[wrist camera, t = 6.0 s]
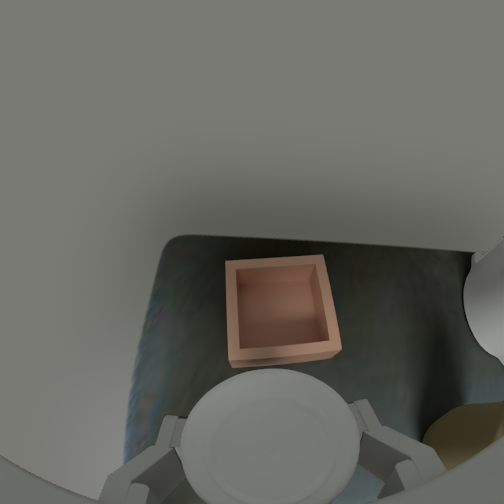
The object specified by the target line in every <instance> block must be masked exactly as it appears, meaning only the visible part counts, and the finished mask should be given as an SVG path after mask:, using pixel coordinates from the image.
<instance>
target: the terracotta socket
mask: <svg viewBox="0 0 504 504" xmlns="http://www.w3.org/2000/svg"><path fill="white" fill-rule="evenodd" d="M225 265H226V304H227V333H228V357H229V362H230V364H231V366H232V368H237V367H254V366H268V365H279V364H289V363H298V362H307V361H314V360H322V359H329V358H332V357H333V356H334V355H336V354H337V353H338V352H339V351H340V350H342V347H341V341H340V335H339V329H338V324H337V319H336V313H335V308H334V303H333V298H332V293H331V288H330V283H329V279H328V274H327V270H326V265H325V261H324V256H323V255H309V256H294V257H279V258H264V259H248V260H232V261H225Z"/></svg>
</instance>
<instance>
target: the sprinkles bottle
mask: <svg viewBox="0 0 504 504" xmlns="http://www.w3.org/2000/svg"><path fill="white" fill-rule="evenodd" d="M359 452H360V437H359V432H358V426H357V423H356V420H355V418H354V415H353V413H352V412H351V410H350V408H349V406H348V405H347V404H346V402H345V401H344V400H343V399H342V397H341V396H340V395H339V394H338V393H337V392H336V391H334V390H333V389H332V388H331V387H329V386H328V385H327V384H325V383H323V382H322V381H320V380H318V379H316V378H314V377H312V376H309V375H307V374H304V373H300V372H297V371H293V370H285V369H260V370H254V371H248V372H245V373H241V374H238V375H236V376H233V377H231V378H229V379H227V380H225V381H223V382H221V383H220V384H218V385H217V386H215V387H214V388H212V389H211V390H210V391H209V392H207V393H206V394H205V395H204V396H203V397H202V398H201V399H200V400H199V402H198V403H197V404H196V405H195V406H194V408H193V409H192V411H191V413H190V414H189V416H188V418H187V421H186V423H185V426H184V429H183V432H182V436H181V445H180V453H181V460H182V466H183V469H184V473H185V475H186V477H187V480H188V481H189V483H190V484H191V486H192V488H193V489H194V491H195V492H196V493H197V494H198V496H199V497H200V498H201V499H202V500H203V501H204V502H206V503H207V504H330V503H331V502H333V501H334V500H335V499H336V498H337V497H338V496H339V495H340V493H341V492H342V491H343V490H344V489H345V487H346V486H347V485H348V483H349V481H350V480H351V478H352V475H353V473H354V471H355V468H356V465H357V462H358V458H359Z"/></svg>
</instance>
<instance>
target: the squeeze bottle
mask: <svg viewBox="0 0 504 504" xmlns="http://www.w3.org/2000/svg"><path fill="white" fill-rule="evenodd" d="M503 435H504V401H502V402H493V403H482V404H468V405H461V406H459V407H456V408H453V409H452V410H450V411H449V412H448V413H446V414H445V415H443V416H442V417H440V418H439V419H437V420H436V421H435V422H434V423H433V424H432V425H430V427H429V428H428V430H427V431H426V433H425V434H424V437H423V441H422V443H423V444H425V445H427V446H429V447H432V448H433V449H434V450H435V452H436V454H437V455H438V457H439V458H440V460H441V462H442V463H443V465H444V467H445V468H446V470H447V471H448V470H449V469H451V468H453V467H455V466H457V465H459V464H460V463H462V462H464V461H465V460H467V459H469V458H471V457H472V456H474V455H475V454H477V453H479V452H480V451H482V450H483V449H485V448H486V447H488V446H489V445H491V444H492V443H494V442H495V441H496V440H498V439H499V438H501V437H502V436H503Z"/></svg>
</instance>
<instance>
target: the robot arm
mask: <svg viewBox="0 0 504 504" xmlns="http://www.w3.org/2000/svg"><path fill="white" fill-rule="evenodd" d="M463 297H464V308H465V313H466V317H467V320H468V323H469V326H470V328H471V331H472V333H473V335H474V337H475V338H476V340H477V341H478V343H479V344H480V345H481V346H482V348H483V349H485V350H486V351H487V352H488V353H490V354H492V355H494V356H496V357H497V358H498V359H499V360H500V361H501V363H502V364H503V365H504V237H503V238H502V239H501V240H500V241H499V242H498V243H496V244H495V245H494V246H493V247H492V248H491V249H490V250H489V251H488V252H481V251H476V252H475V253H474V254H473V255H472V260H471V270H470V272H469V274H468V276H467V278H466V281H465V285H464V296H463ZM346 404H347V405H348V406H349V408H350V410H351V412H352V413H353V415H354V418H355V420H356V423H357V426H358V432H359V437H360V452H359V458H358V462H357V463H358V464H360V465H361V466H362V467H364V468H365V469H366V470H368V471H369V472H370V473H372V474H373V475H375V476H376V477H377V478H379V479H380V480H382V481H383V482H384V483H386V484H385V485H384V487H383V489H382V490H381V492H380V493H379V495H378V500H376V501H372V502H369V503H366V504H504V435H503V436H502V437H501V438H499V439H498V440H496V441H495V442H494V443H492V444H491V445H489V446H488V447H486V448H485V449H483V450H482V451H480V452H479V453H477V454H475V455H474V456H472V457H471V458H469V459H467V460H465V461H464V462H462V463H460V464H459V465H457V466H455V467H453V468H451V469H449V470H448V471H447V470H446V468H445V467H444V465H443V463H442V462H441V460H440V458H439V457H438V455H437V454H436V452H435V450H434V449H433V448H432V447H429V446H427V445H425V444H423V443H420V442H418V441H416V440H414V439H412V438H409V437H407V436H405V435H403V434H401V433H399V432H397V431H395V430H393V429H391V428H389V427H387V426H383V427H382V426H381V424H380V422H379V420H378V418H377V417H376V415H375V413H374V411H373V409H372V407H371V405H370V404H369V402H368V400H367V399H362V400H358V401H354V402H349V403H346ZM187 418H188V417H187V416H170V415H166V416H165V417H164V419H163V422H162V426H161V429H160V432H159V435H158V438H157V441H156V444H155V446H150V447H149V448H147V449H146V450H145V451H143V452H142V453H140V454H139V455H138V456H136V457H135V458H133V459H132V460H130V461H129V462H128V463H126V464H125V465H123V466H122V467H120V468H119V469H117V470H116V471H114V472H113V473H111V474H110V475H108V477H107V479H106V482H105V484H104V487H103V489H102V492H101V494H100V497H99V500H98V501H97V500H94V499H91V498H88V497H86V496H83V495H80V494H77V493H75V492H72V491H70V490H67V489H65V488H62V487H60V486H57V485H56V484H53V483H51V482H49V481H47V480H45V479H43V478H41V477H38V476H36V475H35V474H33V473H31V472H29V471H27V470H25V469H23V468H21V467H20V466H18V465H16V464H14V463H13V462H11V461H9V460H8V459H6V458H4V457H3V456H1V455H0V504H161V501H163V500H164V499H165V498H166V497H167V496H168V495H169V494H170V492H171V491H172V490H173V489H174V488H175V487H176V486H177V485H178V484H179V483H180V482H181V481H182V480H183V479H184V478H185V477H186V475H185V473H184V469H183V466H182V460H181V453H180V445H181V436H182V432H183V429H184V426H185V423H186V421H187Z"/></svg>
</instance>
